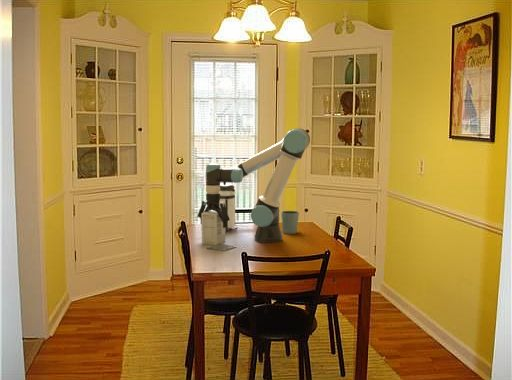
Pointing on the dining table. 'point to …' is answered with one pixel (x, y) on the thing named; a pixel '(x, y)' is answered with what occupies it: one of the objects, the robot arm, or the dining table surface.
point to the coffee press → (228, 202)
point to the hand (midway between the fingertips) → (213, 232)
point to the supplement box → (211, 228)
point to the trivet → (221, 247)
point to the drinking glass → (289, 221)
